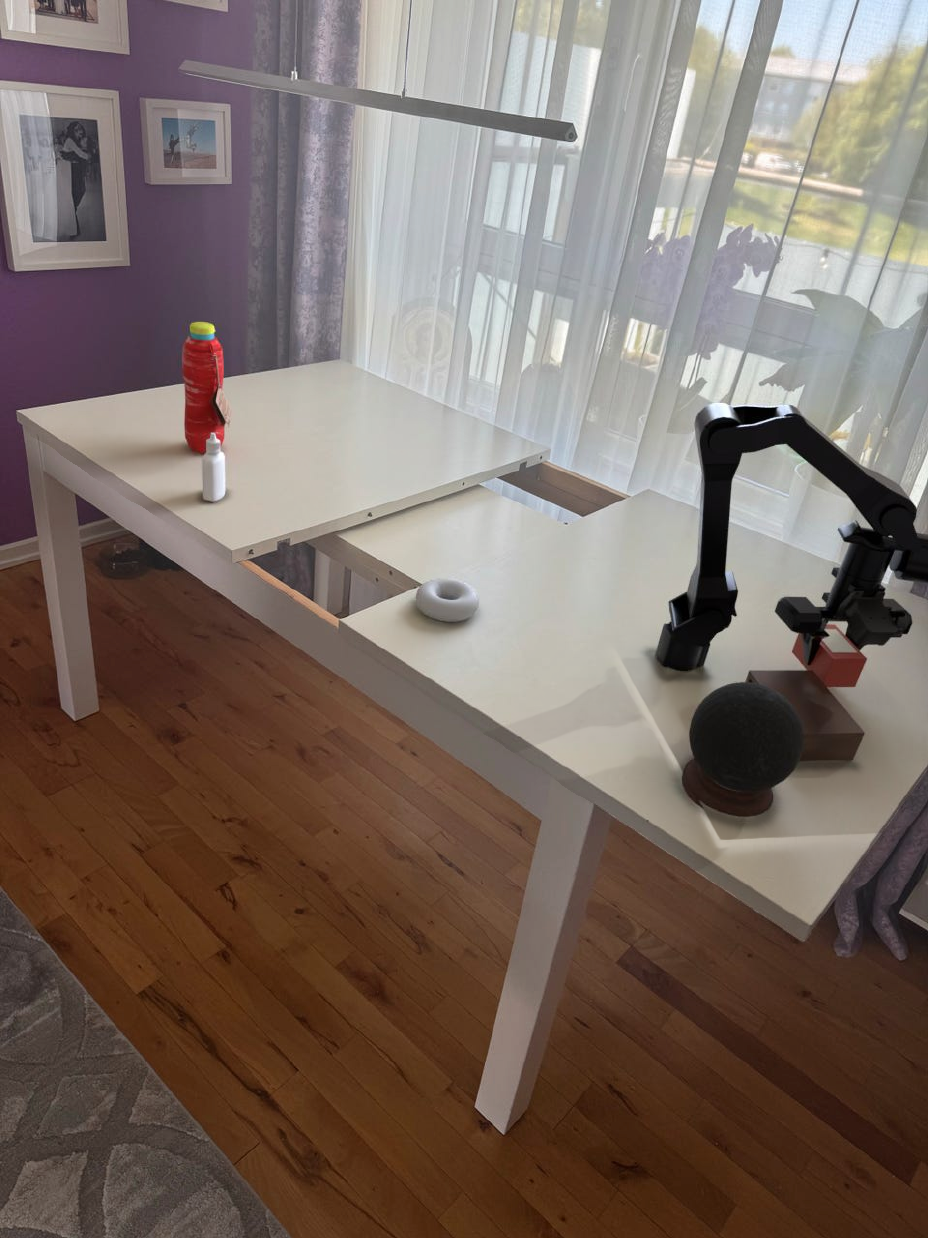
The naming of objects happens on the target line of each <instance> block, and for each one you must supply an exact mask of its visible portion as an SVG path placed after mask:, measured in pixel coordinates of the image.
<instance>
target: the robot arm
mask: <svg viewBox="0 0 928 1238" xmlns="http://www.w3.org/2000/svg"><path fill="white" fill-rule="evenodd" d="M693 424H694V435H695V441H696V447H697V453H698V454H697V455H698V459H699V465H700V472H701V475H700V476H701V477H700V478H701V479H700V498H699V515H698V516H699V518H698V533H697V535H698V536H697V552H696V554H697V555H696V564H695V567H694V569H693V571H692V573H691V575H690V579H689V582H688V585H687V586H688V587H687V590H686V591H684V592H683V593H681V594H679V595H678V596H676V597H673V598H672V599H669V601H668V602H667V604H668V605H667V606H668V611H669V616H670V617H669V618H670V621H669V622H668V623H663V625H662V629H661V633H660V636H659V638H658V639H659V640H658V643H657V647H656V649H655V654H654V655H655V657H656V659H657V660H658V662H659V664H660V666H661V667H662V668H669V669H671V670H674V671H678V672H684V673H685V672H691V671H694V670H695V669H697V668H701V667H703V666H704V665H705V663H706V660H707V656H708V654H709V651H710V647H711V642H712V641H713V640H714V638H715V637H716V636H717V635H718V634H719V633H722V632H723V631H724V630H726V629H728V628H729V627H730V625H731V622H732V618H733V617H737V616H738V614H737V610H736V603H737V600H738V596H739V595H738V594H739V589H738V586H737V582H736V579H735V576H734V571H727V572H726V568H727V555H728V543H729V541H728V540H729V527H730V515H731V513H730V512H731V499H732V498H731V497H732V486H733V485H732V484H733V480H734V477H735V475H736V472H737V471H738V468H739V466H740V462H741V459H742V456H743V454H749V453H756V452H760V451H763V450H766V449H769V448H771V447H775V446H781V445H786V446H788V448H790V449H791V450H792V451H794V453H796V454H797V455H798V456H800V457H801V458H802V459H803V460H805V461H806V462H807V463H808V464H809V465H810V466H811V467H813V468H814V469H815V470H817V472H819V473H820V474H821V475H823V476H824V477H825V478H826V479H827V480H828V481H830V482H831V483H832V484H833V485H834V486H836V487H837V488H838V489H839V490H841V492H843V493H844V494H845V495H846V496H847V498H849V500H850V501H851V502H852V504H853V505H854V507H855V508H856V509H857V510H858V512H859V513H860V514H861V516H862V517H863V518H864V520H865V521H866V523H868V524H869V526H870V527H871V528H869V527H864V526H861V525H860V524H859V522H858V520H856V519H855V520H853V521H851V522H850V523H847V524H843V525H842V526H838V528H837V532H838V534H839V536H840V538H841V539H842V541H843V542H844V543H847V544H848V546H847V548H846V551H845V553H844V555H843V558H842V561H841V564H840V566H839V567H834V566H833V568H832V570H831V573H830V574H831V575H832V577H834V578H835V579H834V582H833V583H832V587H831V589H830V592H828V591H827V592H826V591H825V592H823V594H822V595H821V600H822V601H823V602H824V603H825V605H824V606H815V605H814V603H812V601H810V599H809V598H808V597H807V596H782V597H780V598H779V599H778V601H777V603H776V606H775V609H774V613H775V614H776V615H777V616H778V617H779V619H780V620H781V621H782V622H783V623H784V624H785V626H786V627H787V628H788V629H789V630H790V631H791V632H793V633H795V634H799V633H801V639H802V647H803V656H804V662H805V663H806V665H810V664H811V662H812V661H813V659H814V657H815V655H816V652H817V650H818V647H819V645H820V642H821V640H822V639H824V638H826V637H829V636H830V635H829V634H828V633H827V632H826V631H825V627H826V625H827V624H829V622H837V623H838V622H839V623H840V622H844V623H845V622H846V623H847V627H846V630H845V633H844V635H845V636H846V637H847V638H848V639H849V640H850V641H851V642H852V643H853V644H854V645H855V646H856V647H857V648H858V649H859V651H860V652H861V650H862V649H863V648H864V647H865V646H879V647H882V646H885V645H886V644H887V643H888V642H889V641H890V640H891V639H892V638H893V639H894V638H895V639H897V638H899V639H901V638H902V637H903V635H908V634H909V632H910V630H911V628H912V625H913V624H914V623H913V616H912V614H911V613H910V612H909V611H908V610H906V609H905V608H904V607H903V606H902V605H901V604H900V603H899V602H898V601H897V600H896V599H895V598H885V595H886V589H887V588H886V587H885V586H884V585H882V582H883V580H884V578H885V575H886V574H887V570H888V568H889V569H890V571H892V572H893V574H894V577H895V578H896V579H897V580H901V581H905V582H906V581H907V582H913V583H919V584H924V585H928V533H927V534H926V533H921V532H917V530H916V527H915V521H916V519H917V515H918V514H917V512H918V508H917V506H916V504H915V503H914V502H913V500H912V499H911V498H910V497H909V495H908V494H907V493H906V491H905V490H904V489H903V487H902V486H901V484H900V483H897V482H896V481H895V480H893V479H891V478H889V477H887V476H885V475H883V474H882V473H879V472H877V471H874V470H873V469H870V468H868V467H866V466H864V465H862V464H861V463H860V462H858V461H857V460H856V459H855V458H853V457H852V456H851V455H850V454H848V453H847V452H846V451H845V450H844V449H843V448H842V447H841V446H839V445H838V444H837V443H836V442H834V441H833V440H832V439H831V438H830V437H828V436H827V435H826V434H825V433H824V432H823V431H822V430H820V429H819V428H818V427H817V426H816V425H815V424H813V423H812V421H810V420H809V419H807V418H806V417H805V416H804V415H803V413H802V412H801V410H800V409H798V407H796V406H795V405H793V404H780V405H769V406H768V405H754V404H741V405H740V404H739V405H730V404H727V403H726V402H714V403H709V404H708V405H706V406H704V407H703V408H702V409H701V410H699V412H698V413H697V414H696V416H695V419H694V423H693Z"/></svg>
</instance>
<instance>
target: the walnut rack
mask: <svg viewBox="0 0 928 1238" xmlns="http://www.w3.org/2000/svg"><path fill="white" fill-rule="evenodd" d="M744 682H751V683H757V684H761V685H764V686H767V687H769V688H772V689H773V690H775V691H777V692H778V693H780V694H781V695H782V696H783V697H784V698H786V699H787V700H788V701H789V703H790V704H791V705H792V706H793V707H794V709H795V711H796V712H797V714H798V716H799V718H800V721H801V724H802V728H803V734H804V740H803V751H802V754H801V757H800V760H799V762H820V761H821V762H826V761H827V762H828V761H853V760H854V758H855V756H856V754H857V753H858V749H859V748H860V745H861V743H862V741H863V738H864V736H865V735H866V732H865V731H864V729H863V728H862V727H861V726H860V724H858V722H857V721H856V720H855V719H854V717H852V716H851V714H850V713H849V712H848V710H847V709H846V708H845V707H844V706H843V704H842V703H841V702H840V700H838V699H837V697H836V696H835V695H834V694H833V693H832V692H831V690H830V689H829V687H826V686H825V685H824V683H823V682H822V681H821V680H820V679H819V677H818V676H817V675H816V674H815V673H814V671H813V670H806V669H804V670H803V669H802V670H801V669H800V670H798V669H794V670H793V669H787V670H782V669H780V670H773V669H772V670H771V669H770V670H769V669H768V670H767V669H765V670H764V669H763V670H760V669H759V670H758V669H757V670H756V669H754V670H753V669H752V670H751V669H750V670H748V673H747V675H746V679H745V681H744Z"/></svg>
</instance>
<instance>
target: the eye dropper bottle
mask: <svg viewBox="0 0 928 1238" xmlns="http://www.w3.org/2000/svg"><path fill="white" fill-rule="evenodd" d="M201 481H202V500H203V501H207V502H218V501H220V500H221V499H223V498H224V497H225V495H226V457H225V453H224V452H223V451H221V448H220V440H218V439H216V435H215V433H211V436H210V439H207V440H206V453H205V454H204V455H203V456H202V459H201Z"/></svg>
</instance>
